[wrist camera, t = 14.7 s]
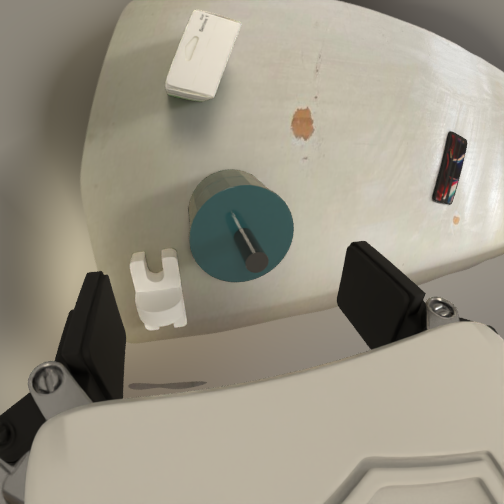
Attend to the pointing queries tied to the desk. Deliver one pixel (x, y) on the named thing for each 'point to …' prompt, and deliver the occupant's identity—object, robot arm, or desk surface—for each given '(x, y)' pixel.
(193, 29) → the ink box
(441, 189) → the smartphone
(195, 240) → the lid
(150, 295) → the slotted bracket
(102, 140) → the desk surface
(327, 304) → the desk surface
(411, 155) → the desk surface
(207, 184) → the pot
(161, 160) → the desk surface
